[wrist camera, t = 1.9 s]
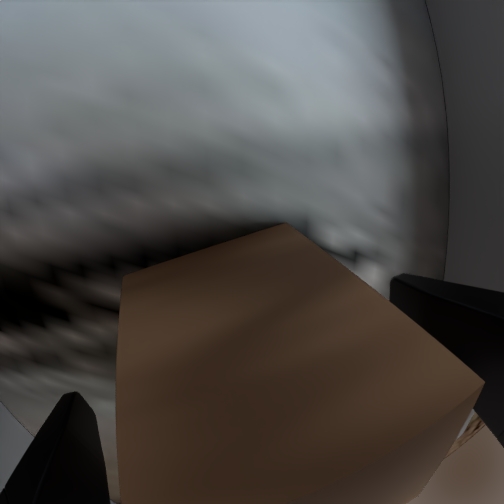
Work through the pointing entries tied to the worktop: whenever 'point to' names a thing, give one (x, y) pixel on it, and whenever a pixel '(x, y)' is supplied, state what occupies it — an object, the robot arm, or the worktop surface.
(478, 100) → the grey rimmed tray
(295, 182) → the worktop surface
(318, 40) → the worktop surface
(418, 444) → the walnut block
